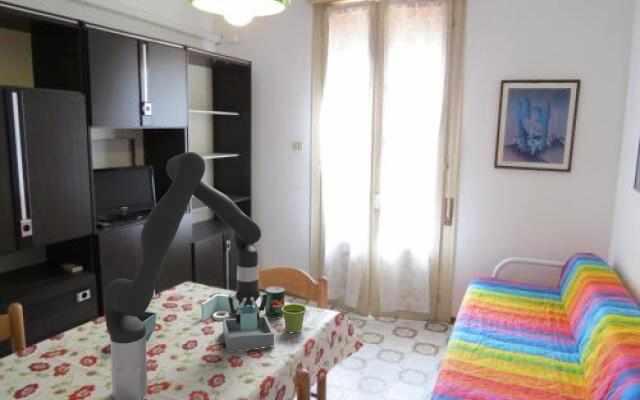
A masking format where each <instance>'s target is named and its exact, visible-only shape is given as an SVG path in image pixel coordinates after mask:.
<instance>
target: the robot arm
mask: <svg viewBox="0 0 640 400" xmlns="http://www.w3.org/2000/svg"><path fill="white" fill-rule="evenodd" d="M205 171H206V161H205V158H204V157H203V156H202V155H201V154H200V153H198V152H196V151H189V152H187V151H186V152H183V153H181V154H177V155H175V156H173V157H171V158H170V159H168V161H167V164H166V172H167V173H166V174H167V176H168V177H169V178H170V180H172V183H171V185H170V186H169V188H168V189H167V191H166V193H165V194H164V195H163V196H162V197H161V198H160V200H158V202H157V203H156V204H155V205H154V207H152V209H151V211H150V212H149V213H148V216H147V218H146V220H145V222H144V224H143V227H142V229H141V232H140V236H139V237H140V239H139V240H140V249H141V263H140V266H139V269H138V271H137V275H136V276H135V278H134V280H133V279H132V280H131V279H127V278H116V279H114V280H112V281H110V283H109V284H108V286H107V287H106V290H105V293H104V298H103V299H104V300H103V302H104V303H103V304H104V305H103V308H104V315H105V316H104V317H105V325H106V329H107V332H108V333H109V338H110V339H109V340H110V362H111V363H110V365H111V366H110V367H111V385H112V390H111V391H112V399H113V400H142V398H144V397H145V396H146V395H147V393H148V390H149V389H148V388H149V387H148V360H147V359H148V358H147V357H148V356H147V340H146V326H145V324H144V323H143V322H142V321H141V320H140V319H139V318H138V317H137V316H139V315H141V314H143V313H144V312H145V311H146V312H147V309H148V307H149V306H150V303H151V301H152V299H153V296H154V294H155V293H154V292H155V290H156V287H157V283H158V281H159V277H160V274H161V272H162V268H163V265H164V262H165V260H166V258H167V257H168V253H169V250H170V249H171V245H172V244H173V242H174V240H175V237H176V235H177V233H178V231H179V227H180V224H181V223H182V220H183V218H184V215H185V213H186V210H187V208H188V206H189V204H190V201H191V199H192V197H193V196H194V198H195V199H197V200H199V201H200V202H201V203H202V204H204V205H205V207H207V208H209V210H211V212H212V213H214V214H215V216H216V217H217V218H218V219H220V220H221V222H223V223H224V224H225V225H226V226H228V227H229V228H231V229H232V230H234V231H233V232H234V233H233V234H234V242H235V247H236V250H237V251H236V252H237V268H236V292H235V294H234V295H230V294H229V295H227V296H228V300H229V305H230V310H231V313H230V314H233V313H235V314H234V315H235V319H236V322H237V323H238V324H240V311H241V309H242V308H243V306H247V305H253V306H254V308H255V310H256V311H257V322H258V321H259V316H260V313H261V312H265V305H266V300H267V295H266V292H261V293H260V291H259V264H258V263H259V262H258V260H259V253H258V250H257V248H256V247H255V246H254V244H255V243H257V242H259V241H260V239H261V238H262V229H261V227H260V226H259V224H257V223H256V222H255V221H254V220H253V219H252V218H250V217H249V216H248V215H246V214H245V213H244V212H243V210H241V209H240V208H239V206H238V205H236V203H235V202H234V201H233V200H232V199H231V198H230V197H229V196H227V195H226V194H224V193H223V192H221V191H219V190H217V189H216V188H214V187H212V186H211V185H209V184H208V183H206V182H205V181H204V180H203V177H204V174H205ZM259 298H260V300H261V301H260V305H259V306H258V304H257V300H258V299H259ZM235 299H237V300H238V301H239V303H238V306H237V308H236V309H234V306H233V302H234V301H235Z"/></svg>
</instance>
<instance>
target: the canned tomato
mask: <svg viewBox="0 0 640 400" xmlns="http://www.w3.org/2000/svg"><path fill="white" fill-rule="evenodd" d="M285 291H286V288H285V287H283V286H280V285H279V286H278V285H272V286H268V287H266V288H265V293H266V295H267V300H266V305H265V310H264V314H265V315H264V316H266V317H267V318H268V317H269V318H268V319H272V318H277V319H279V318H278V317H281V318H283V317H284V316H283V315H284V314H283V311H282V307H283V306H285V295H286V292H285ZM282 316H283V317H282Z"/></svg>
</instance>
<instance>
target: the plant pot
mask: <svg viewBox="0 0 640 400" xmlns="http://www.w3.org/2000/svg"><path fill="white" fill-rule="evenodd" d="M282 311H283V314H284V316H283V317H284V318H283V319H284V327H285V331H286V330H287V331H289V332H294V333H297V332H298V331H300V330H301V331H302V330H303V325H304V324H303V323H304V317H305V314H306V311H307V307H306V306H305V305H303V304H300V303H289V304H284V306H283V307H282ZM287 331H286V332H287ZM301 331H300V332H301ZM289 332H288V333H289ZM298 333H299V332H298Z"/></svg>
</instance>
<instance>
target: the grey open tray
mask: <svg viewBox="0 0 640 400" xmlns="http://www.w3.org/2000/svg"><path fill="white" fill-rule="evenodd" d="M222 323H223V324H222V335H223V338H224V342H225V347H226V348H225V349H226V352H227V353H233V352H232V351H236V352H240V351H239V350H245V351H248V350H247V349H253V350H256V349H255V348H262V347H271V346H274V347H275V333H274V330H273V328H272V326H271V324H270V322H269V320H268V317H266V316H265V315H262V316H261V315H259V321H258V322H257V329H253V330H244V331H241V329H240V326H239V324H238V323H237V322H236V318H227V319H226V320H222ZM271 348H272V347H271ZM262 349H263V348H262Z"/></svg>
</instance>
